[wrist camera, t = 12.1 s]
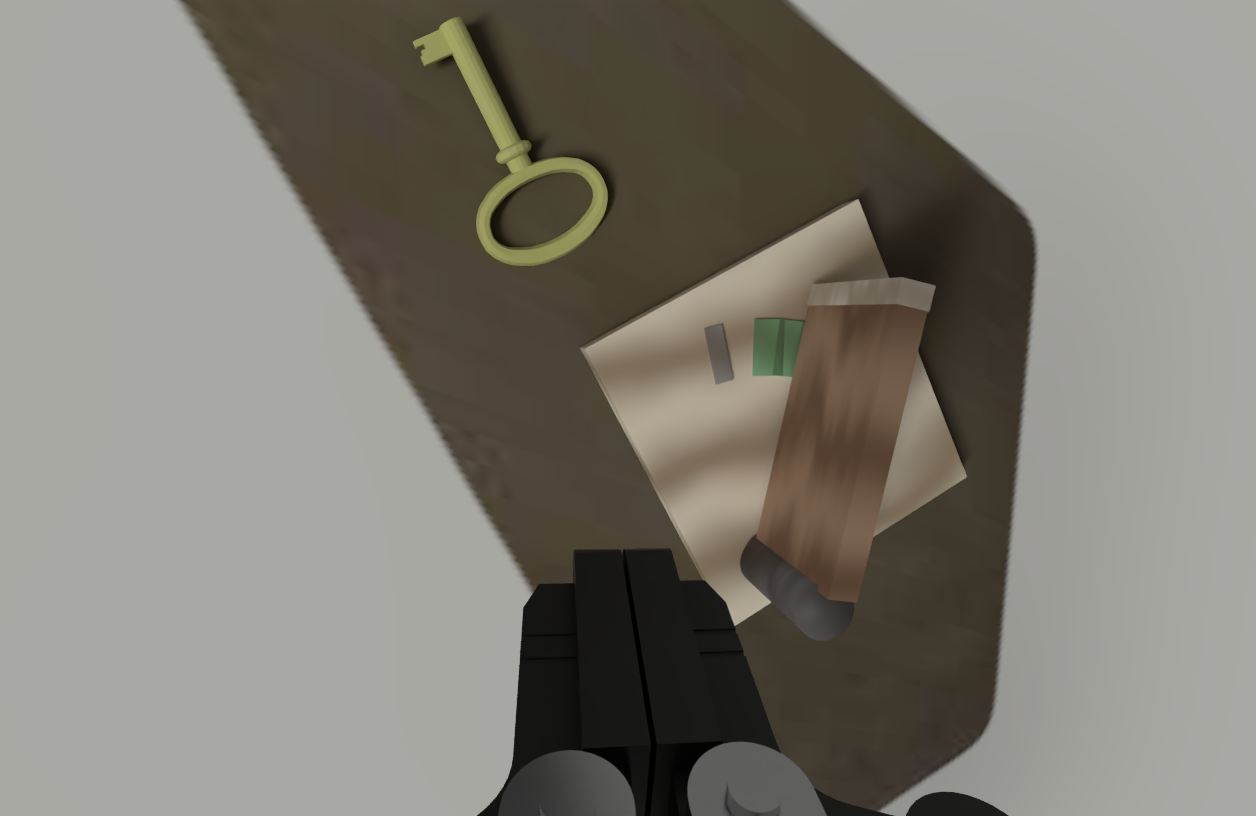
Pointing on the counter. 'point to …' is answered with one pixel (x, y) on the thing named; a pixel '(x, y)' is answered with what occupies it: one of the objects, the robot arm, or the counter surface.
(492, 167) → the counter surface
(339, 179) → the counter surface
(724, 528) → the beige flat square sheet
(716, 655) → the robot arm
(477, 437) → the counter surface
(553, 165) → the key
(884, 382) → the brown wood panel
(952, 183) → the counter surface
